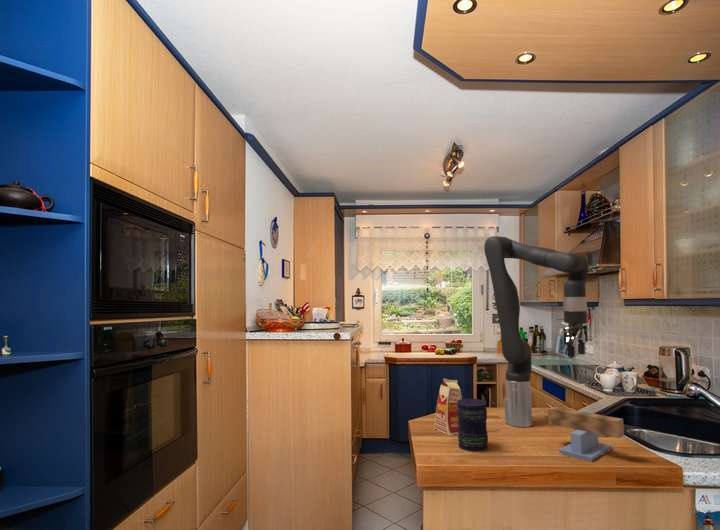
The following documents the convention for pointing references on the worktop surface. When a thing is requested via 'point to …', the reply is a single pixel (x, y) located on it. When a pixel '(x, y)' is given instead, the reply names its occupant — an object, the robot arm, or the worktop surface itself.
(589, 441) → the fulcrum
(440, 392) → the milk carton
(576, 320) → the robot arm
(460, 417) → the storage jar
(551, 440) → the worktop surface
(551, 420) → the beam
